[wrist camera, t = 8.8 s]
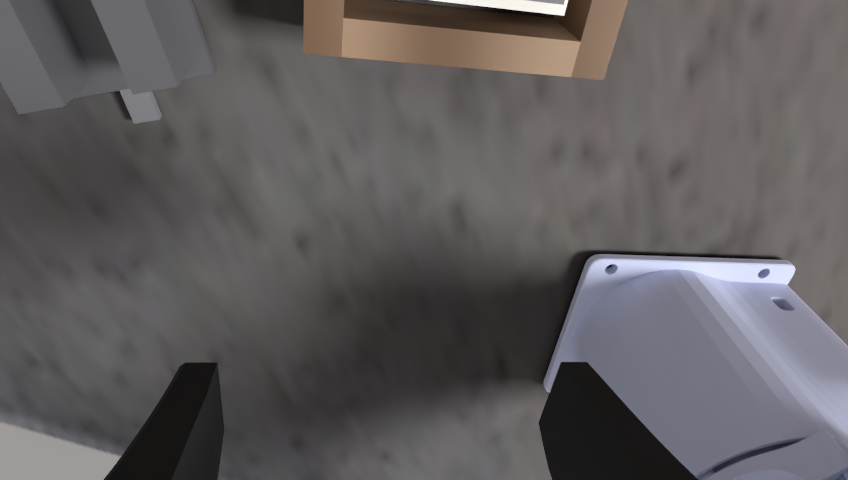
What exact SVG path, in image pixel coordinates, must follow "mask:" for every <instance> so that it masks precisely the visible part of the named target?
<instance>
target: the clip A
mask: <svg viewBox="0 0 848 480" xmlns="http://www.w3.org/2000/svg"><path fill="white" fill-rule="evenodd" d="M215 71H216V68H215V65H214V62H213V59H212V56H211V53H210V51H209V48H208V45H207V42H206V39H205V36H204V33H203V31H202V28H201V25H200V22H199V19H198V16H197V13H196V10H195V8H194V5H193V2H192V0H0V83H1V85H2V87H3V88H4V90H5V92H6V93H7V95H8V97H9V99H10V100H11V102H12V104H13V106H14V107H15V109H16V111H17V112H18V114H25V113H31V112H36V111H42V110H48V109H54V108H59V107H65V106H66V105H67V104H68V103H69V102H70V100H71V99H73V98H79V97H85V96H91V95H96V94H102V93H108V92H114V91H120V90H125V89H131V92H132V94H133V95H134V94H140V93H146V92H152V91H157V90H163V89H169V88H175V87H179V85H180V83H181V82H182V80H183V79H189V78H194V77H200V76H206V75H212V74H214V73H215Z"/></svg>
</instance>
